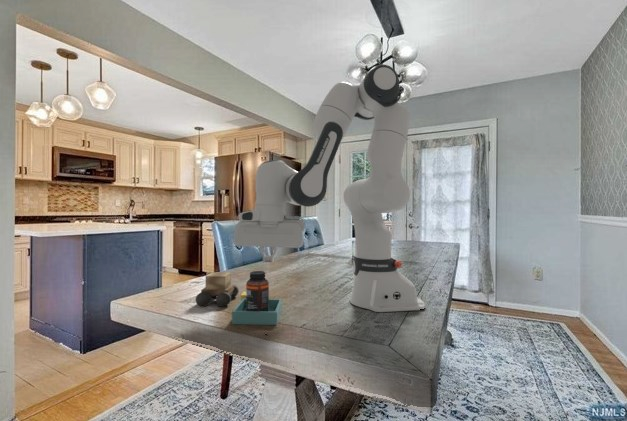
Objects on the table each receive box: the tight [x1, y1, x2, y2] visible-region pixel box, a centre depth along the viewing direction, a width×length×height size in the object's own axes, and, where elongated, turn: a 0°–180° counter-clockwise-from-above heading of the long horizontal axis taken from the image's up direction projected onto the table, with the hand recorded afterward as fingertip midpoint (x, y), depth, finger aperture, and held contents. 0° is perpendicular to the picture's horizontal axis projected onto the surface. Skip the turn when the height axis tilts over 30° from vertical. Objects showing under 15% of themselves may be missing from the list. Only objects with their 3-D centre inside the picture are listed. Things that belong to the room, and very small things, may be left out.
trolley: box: [195, 271, 240, 308], centre depth 94 cm, size 10×10×8 cm
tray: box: [231, 298, 283, 326], centre depth 81 cm, size 11×11×3 cm
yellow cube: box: [240, 290, 246, 301], centre depth 90 cm, size 4×4×4 cm
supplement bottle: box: [245, 270, 270, 311], centre depth 81 cm, size 6×6×11 cm
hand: (268, 262), depth 90 cm, fingers closed
